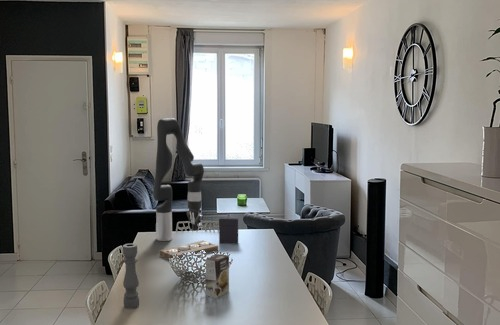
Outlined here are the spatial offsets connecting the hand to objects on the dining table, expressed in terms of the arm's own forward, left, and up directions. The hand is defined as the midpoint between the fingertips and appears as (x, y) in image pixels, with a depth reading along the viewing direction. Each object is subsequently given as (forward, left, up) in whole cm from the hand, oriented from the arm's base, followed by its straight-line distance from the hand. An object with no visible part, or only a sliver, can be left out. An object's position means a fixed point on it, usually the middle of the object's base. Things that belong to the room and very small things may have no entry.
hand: (194, 230), depth 270 cm
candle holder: (+43, -63, -12) cm, 77 cm away
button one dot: (0, +7, -11) cm, 13 cm away
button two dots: (0, -14, -11) cm, 18 cm away
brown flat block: (0, -4, -12) cm, 13 cm away
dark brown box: (-1, +25, -12) cm, 28 cm away
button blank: (0, -7, -10) cm, 13 cm away
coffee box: (+56, -29, -12) cm, 64 cm away
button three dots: (0, 0, -11) cm, 11 cm away
